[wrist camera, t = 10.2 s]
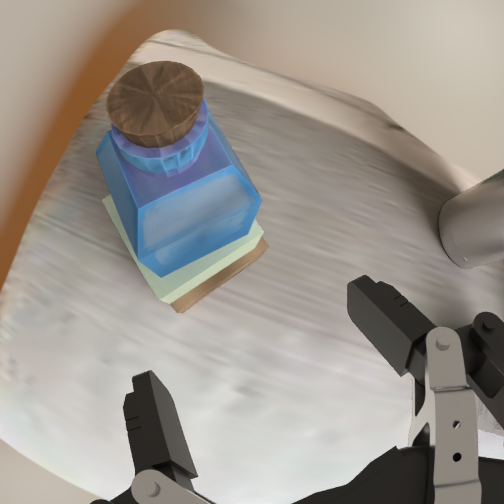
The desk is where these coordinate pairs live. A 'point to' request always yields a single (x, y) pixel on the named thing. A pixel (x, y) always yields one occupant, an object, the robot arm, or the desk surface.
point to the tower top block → (192, 273)
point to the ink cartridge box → (486, 418)
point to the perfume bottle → (172, 169)
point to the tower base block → (218, 278)
